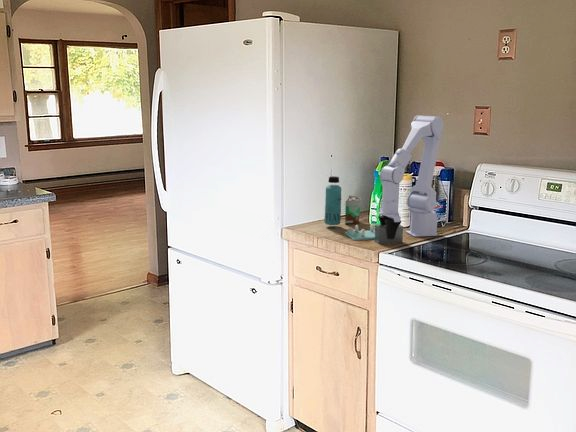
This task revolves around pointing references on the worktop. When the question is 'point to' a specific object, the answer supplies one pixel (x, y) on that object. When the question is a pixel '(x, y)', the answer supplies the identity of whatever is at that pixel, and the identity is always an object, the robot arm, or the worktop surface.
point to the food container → (352, 210)
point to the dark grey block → (382, 235)
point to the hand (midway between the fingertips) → (388, 237)
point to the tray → (361, 233)
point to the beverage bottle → (333, 202)
